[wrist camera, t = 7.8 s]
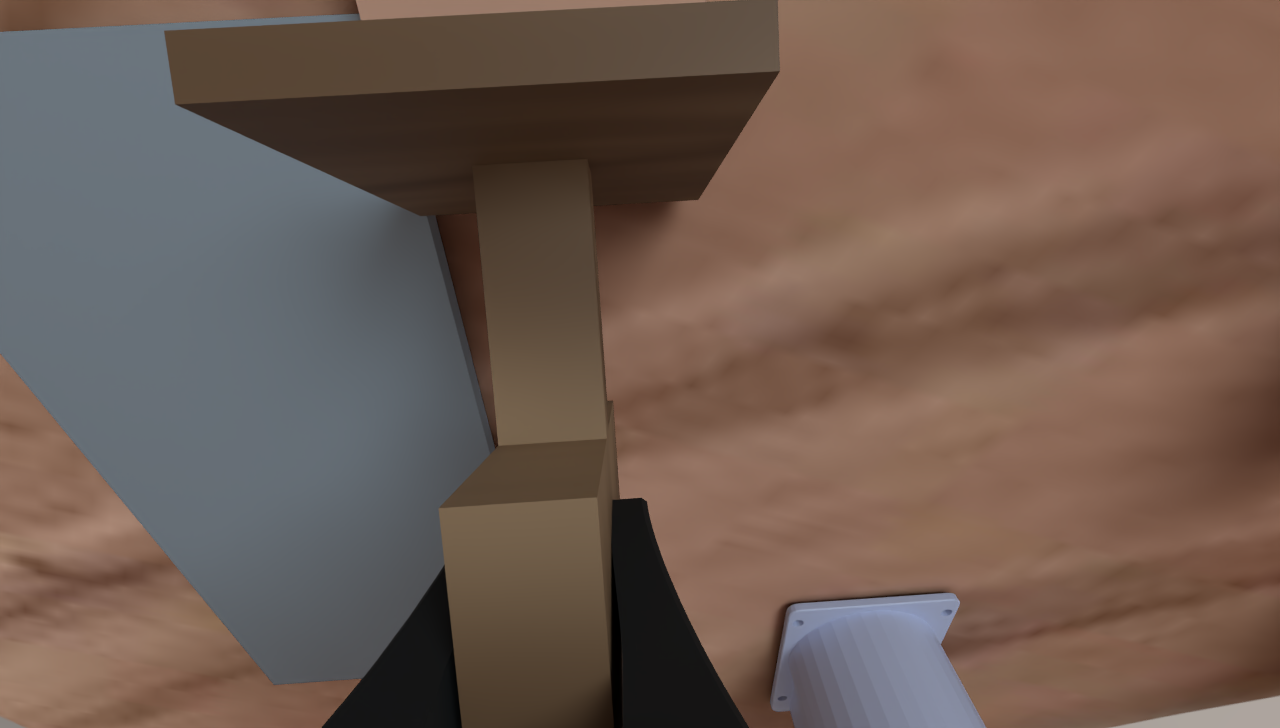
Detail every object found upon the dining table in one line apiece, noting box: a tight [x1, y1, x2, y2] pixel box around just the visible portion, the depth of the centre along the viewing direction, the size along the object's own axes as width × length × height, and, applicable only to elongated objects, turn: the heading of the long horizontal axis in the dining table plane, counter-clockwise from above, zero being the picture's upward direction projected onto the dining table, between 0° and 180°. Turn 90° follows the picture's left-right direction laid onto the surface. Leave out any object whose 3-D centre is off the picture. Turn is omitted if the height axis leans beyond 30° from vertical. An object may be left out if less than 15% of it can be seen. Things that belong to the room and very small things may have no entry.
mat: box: [0, 14, 495, 685], centre depth 18 cm, size 26×13×1 cm, turn 2°
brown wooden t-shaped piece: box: [164, 0, 780, 728], centre depth 10 cm, size 12×7×7 cm, turn 2°
